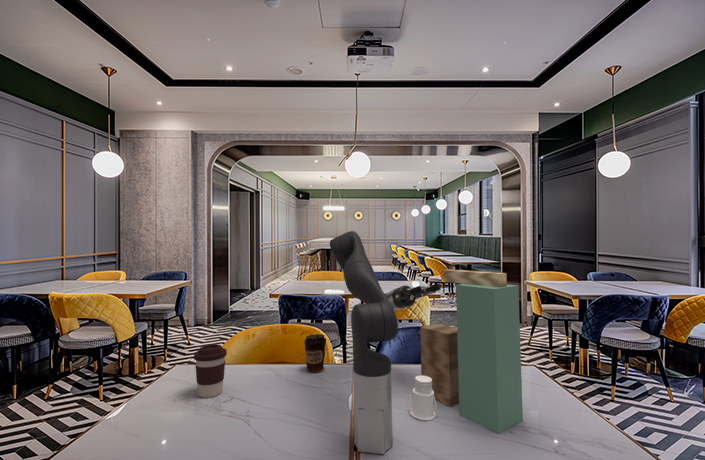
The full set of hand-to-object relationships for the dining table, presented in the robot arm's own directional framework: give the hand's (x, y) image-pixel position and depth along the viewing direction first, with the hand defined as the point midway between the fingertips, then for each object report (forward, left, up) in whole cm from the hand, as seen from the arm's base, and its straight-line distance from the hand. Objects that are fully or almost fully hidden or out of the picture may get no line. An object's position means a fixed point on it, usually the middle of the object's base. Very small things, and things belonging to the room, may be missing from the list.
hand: (430, 287), depth 113 cm
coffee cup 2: (+12, +43, -34) cm, 56 cm away
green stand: (-15, -15, -33) cm, 39 cm away
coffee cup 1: (-13, +71, -34) cm, 80 cm away
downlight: (-16, +3, -34) cm, 37 cm away
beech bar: (-11, -12, +3) cm, 17 cm away
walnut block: (-3, -3, -33) cm, 34 cm away
